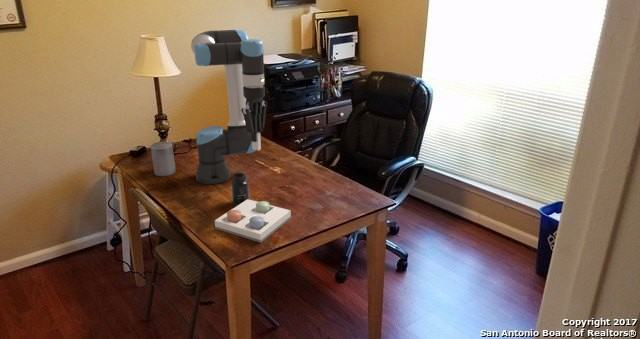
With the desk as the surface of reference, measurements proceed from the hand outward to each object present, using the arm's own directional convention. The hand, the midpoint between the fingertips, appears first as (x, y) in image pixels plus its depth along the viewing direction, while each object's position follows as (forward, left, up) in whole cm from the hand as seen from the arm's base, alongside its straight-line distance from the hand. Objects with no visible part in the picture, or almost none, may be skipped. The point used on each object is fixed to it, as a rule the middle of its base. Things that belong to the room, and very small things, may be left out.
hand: (256, 149), depth 171 cm
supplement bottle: (-12, +4, -27) cm, 29 cm away
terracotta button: (-2, -13, -25) cm, 28 cm away
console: (+3, -8, -26) cm, 28 cm away
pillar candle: (-62, +12, -27) cm, 69 cm away
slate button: (+8, -13, -25) cm, 29 cm away
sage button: (+3, -2, -25) cm, 25 cm away
